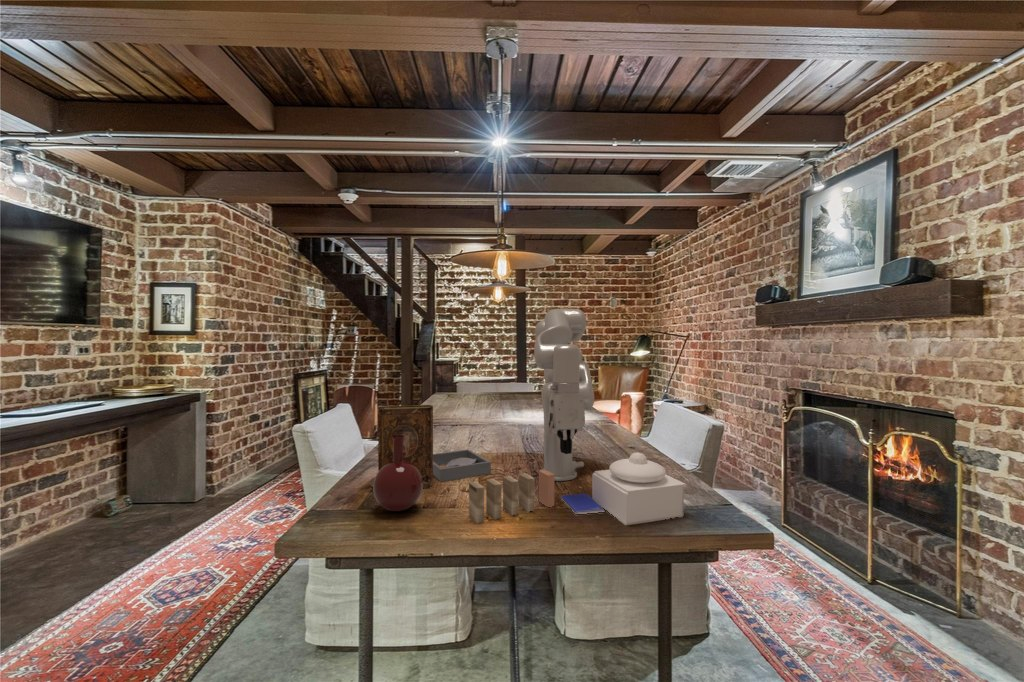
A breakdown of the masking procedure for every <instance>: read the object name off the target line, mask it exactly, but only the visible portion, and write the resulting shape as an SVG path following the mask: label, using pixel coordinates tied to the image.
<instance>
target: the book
mask: <svg viewBox="0 0 1024 682" xmlns="http://www.w3.org/2000/svg"><path fill="white" fill-rule="evenodd" d="M377 422H378V423H377V424H378V425H377V426H378V429H377V430H378V433H377V434H378V435H377V436H378V440H377V444H378V448H377V449H378V452H377V453H378V455H377V456H378V459H377V463H378V464H377V466H378V469H377V470H378V471H379V470H380V469H381V468H382V467H383V466H384V465H386V464H388V463H390V462H392V461H393V438H392V437H393V436H396V435H402V436H404V438H403V461H407V462H410V463H412V464H413V465H414V466H416V467H417V469H418V470H419V471H420V473H421V476H422V479H423V488H426V489H431V488H430V487H432V486H434V476H433V454H434V405H431V404H420V405H419V404H418V405H415V404H414V405H411V404H410V405H388V406H387V405H385V406H383V405H382V406H380V407H379V410H378V421H377ZM378 471H377V472H378ZM432 488H433V487H432Z"/></svg>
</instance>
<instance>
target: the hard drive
mask: <svg viewBox="0 0 1024 682" xmlns="http://www.w3.org/2000/svg"><path fill="white" fill-rule="evenodd" d="M561 498H562V499H561ZM560 499H561V501H562V500H563V501H564V502H565V503H566V504H567V505H568V506H569V507H570V508H571V509H572V511H573V512H574V513H575V514H587V513H598V512H605V510H604V509H603V508H602V507H601V506H600V505H599V504H597V503H596V502H595V501H594V500H593V499H592V497H591V496H590V495H589V494H588V493H577V494H567V495H566V494H565V495H561V496H560ZM563 501H562V502H563ZM564 502H563V503H564ZM565 503H564V504H565ZM566 504H565V505H566ZM567 505H566V506H567ZM568 506H567V507H568ZM569 507H568V508H569ZM570 508H569V509H570ZM572 511H571V512H572ZM573 512H572V513H573ZM574 513H573V514H574ZM605 513H606V512H605ZM575 514H574V515H575ZM598 514H599V513H598ZM587 515H588V514H587Z"/></svg>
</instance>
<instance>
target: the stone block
mask: <svg viewBox="0 0 1024 682" xmlns="http://www.w3.org/2000/svg"><path fill="white" fill-rule="evenodd" d="M475 463H476V459H470V458H459V459H453V460H451V461H450V462H449V463H448V464H446V465H445V466H444V468H448V467H455V466H461V465H468V464H475Z"/></svg>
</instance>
